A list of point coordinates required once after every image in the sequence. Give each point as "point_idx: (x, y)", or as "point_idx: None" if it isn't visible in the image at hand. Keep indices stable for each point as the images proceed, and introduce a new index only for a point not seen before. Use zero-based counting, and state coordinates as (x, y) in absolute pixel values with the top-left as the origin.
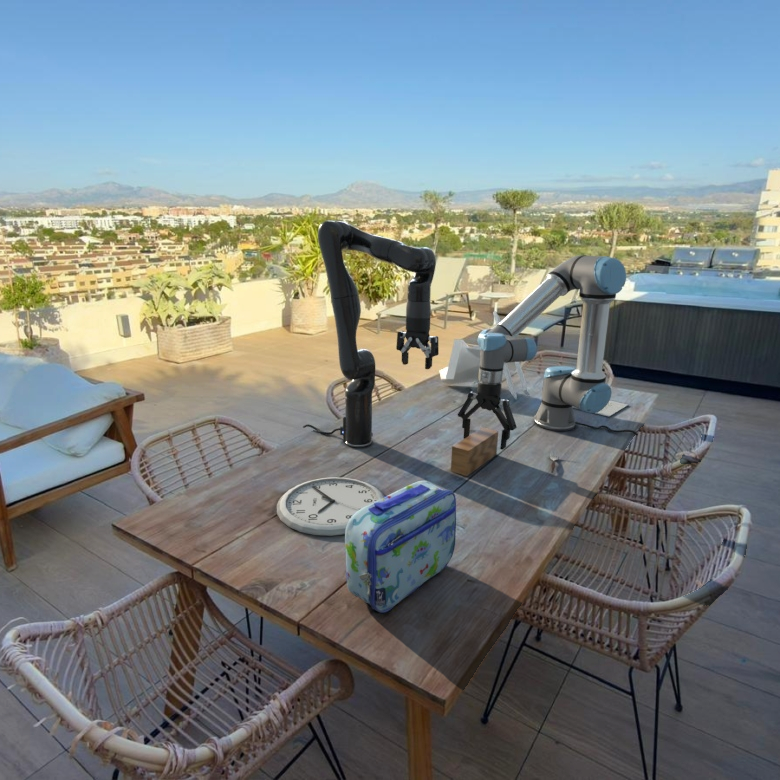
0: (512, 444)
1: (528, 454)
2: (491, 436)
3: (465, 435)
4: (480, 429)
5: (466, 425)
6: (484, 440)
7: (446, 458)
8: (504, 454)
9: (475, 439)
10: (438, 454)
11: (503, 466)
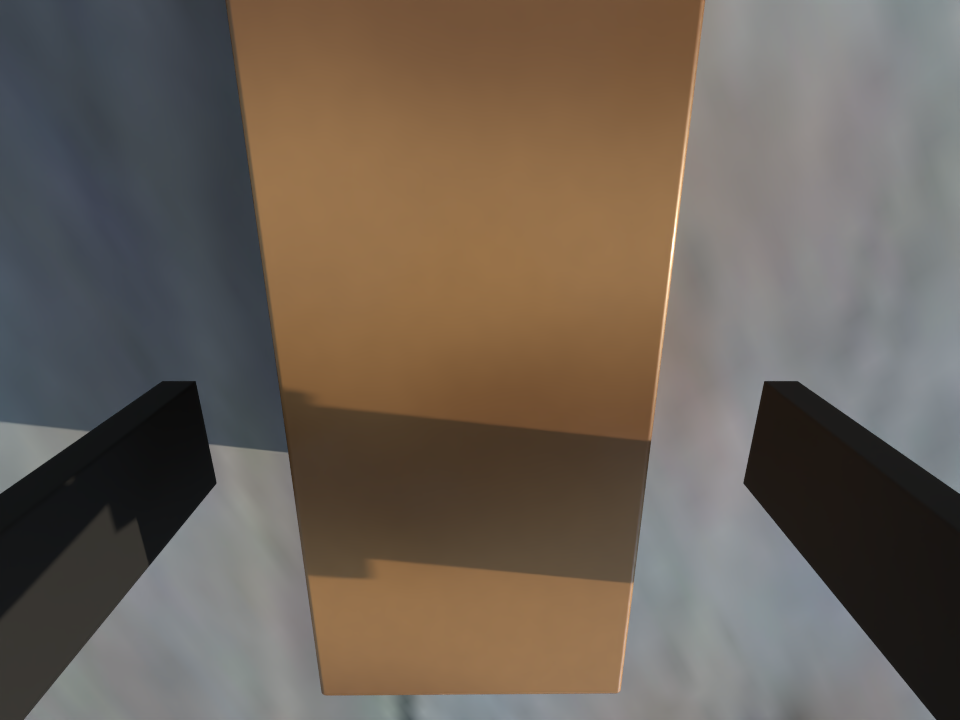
0: (392, 709)
1: (181, 625)
2: (292, 456)
3: (798, 406)
4: (615, 598)
5: (940, 519)
6: (244, 125)
7: (810, 16)
8: None
9: (447, 21)
10: (942, 62)
11: (180, 261)
